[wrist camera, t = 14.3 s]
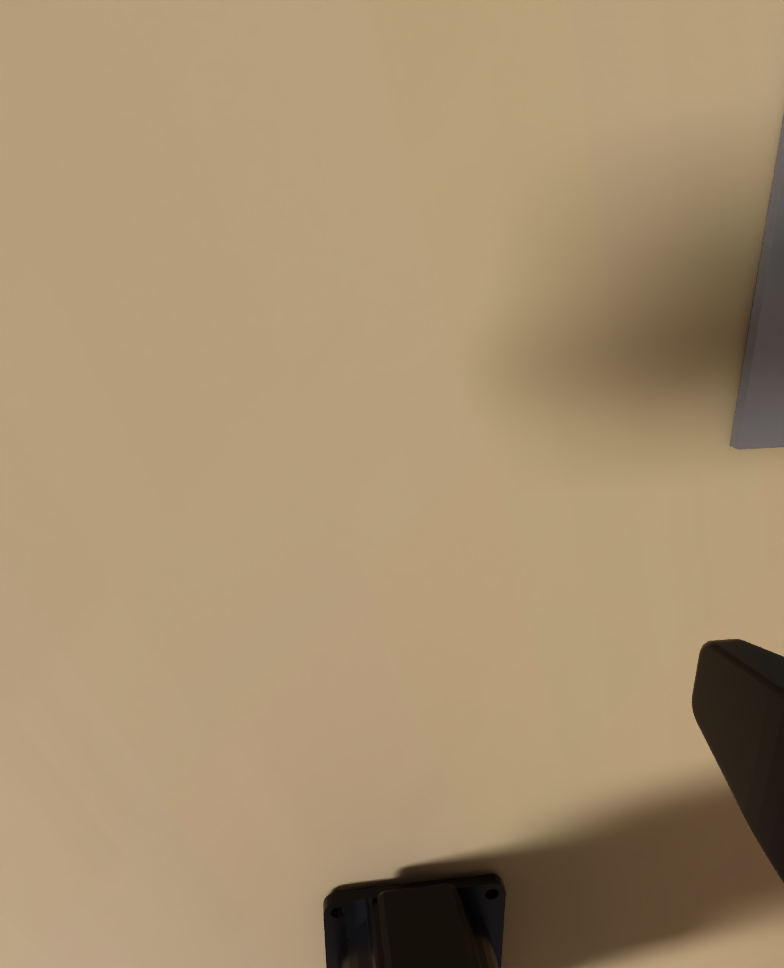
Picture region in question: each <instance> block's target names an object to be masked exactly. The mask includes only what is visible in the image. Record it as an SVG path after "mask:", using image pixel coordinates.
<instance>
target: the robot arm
mask: <svg viewBox="0 0 784 968" xmlns="http://www.w3.org/2000/svg"><path fill="white" fill-rule="evenodd" d="M692 708H693V713H694V716H695V719H696V721H697V724H698V725H699V727H700V729H701V731H702V733H703V735H704V737H705V739H706V741H707V743H708V745H709V747H710V749H711V751H712V753H713V755H714V757H715V759H716V761H717V763H718V765H719V767H720V769H721V771H722V773H723V775H724V777H725V779H726V781H727V783H728V785H729V787H730V789H731V791H732V793H733V795H734V797H735V799H736V801H737V803H738V805H739V807H740V809H741V811H742V813H743V815H744V817H745V819H746V821H747V823H748V824H749V826H750V828H751V830H752V832H753V834H754V835H755V837H756V839H757V840H758V842H759V844H760V846H761V847H762V849H763V851H764V852H765V854H766V856H767V857H768V859H769V860H770V862H771V864H772V865H773V867H774V868H775V870H776V872H777V873H778V875H779V876H780V878H781V880H782V881H783V883H784V657H783V656H781V655H778V654H776V653H773V652H771V651H768V650H766V649H763V648H761V647H758V646H756V645H753V644H751V643H748V642H746V641H743V640H740V639H727V640H715V641H708V642H707V643H705V644H704V645H703V646H702V648H701V650H700V654H699V659H698V665H697V671H696V677H695V682H694V688H693V694H692ZM505 894H506V892H505V888H504V885H503V881H502V879H501V878H500V877H499V876H498V875H495V874H487V875H478V876H470V877H461V878H452V879H444V880H435V881H427V882H418V883H409V884H401V885H392V886H383V887H375V888H366V889H358V890H349V891H340V892H335V893H331V894H330V895H328V896H327V897H326V898H325V899H324V903H323V911H324V930H325V949H326V967H327V968H501V957H502V941H503V925H504V910H505ZM337 907H339V908H337Z"/></svg>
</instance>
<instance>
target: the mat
mask: <svg viewBox="0 0 784 968" xmlns="http://www.w3.org/2000/svg"><path fill="white" fill-rule="evenodd" d="M730 446H732V447H734V448H736V449H754V448H776V447H784V116H783V122H782V128H781V134H780V141H779V147H778V153H777V159H776V165H775V171H774V177H773V184H772V190H771V196H770V202H769V208H768V214H767V221H766V227H765V233H764V239H763V245H762V251H761V258H760V264H759V270H758V276H757V282H756V288H755V294H754V301H753V307H752V313H751V319H750V325H749V331H748V338H747V344H746V350H745V356H744V362H743V368H742V374H741V381H740V387H739V393H738V399H737V405H736V411H735V418H734V424H733V430H732V436H731V442H730Z"/></svg>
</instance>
